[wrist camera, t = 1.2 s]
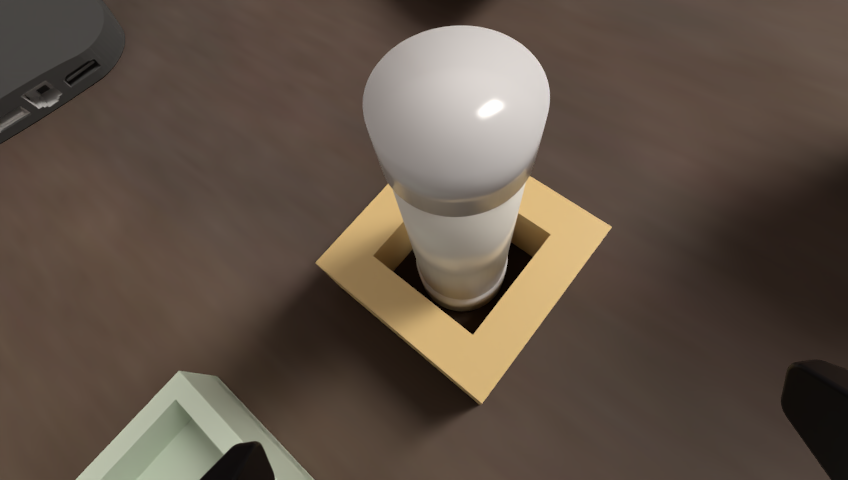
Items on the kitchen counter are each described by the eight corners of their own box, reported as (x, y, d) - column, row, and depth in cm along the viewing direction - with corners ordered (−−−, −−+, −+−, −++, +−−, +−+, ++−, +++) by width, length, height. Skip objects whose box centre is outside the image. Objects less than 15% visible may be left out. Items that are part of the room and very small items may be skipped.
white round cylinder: (521, 263, 22) (587, 76, 10) (469, 329, 21) (472, 213, 9) (454, 216, 23) (440, 0, 11) (403, 277, 22) (325, 113, 10)
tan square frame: (590, 254, 21) (611, 226, 18) (479, 404, 19) (481, 403, 16) (447, 161, 24) (444, 122, 21) (337, 284, 22) (315, 262, 19)
